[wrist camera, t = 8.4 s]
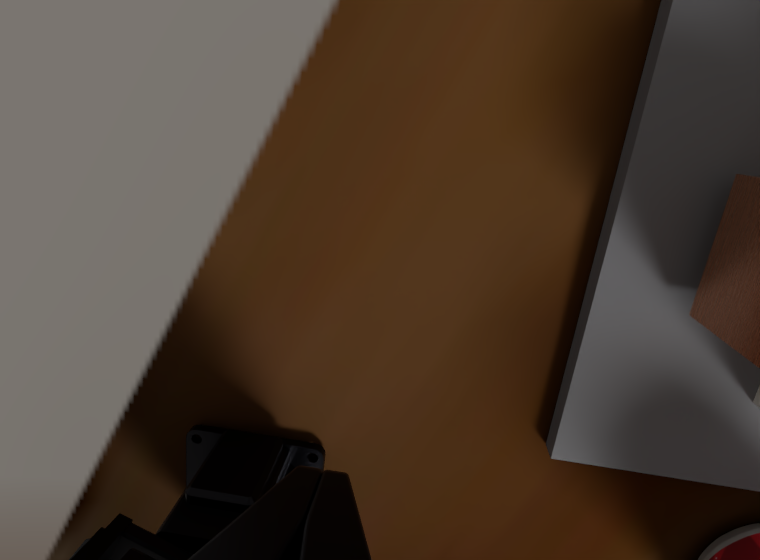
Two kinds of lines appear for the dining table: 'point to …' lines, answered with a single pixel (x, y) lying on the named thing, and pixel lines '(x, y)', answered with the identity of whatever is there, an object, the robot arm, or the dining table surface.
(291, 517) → the robot arm
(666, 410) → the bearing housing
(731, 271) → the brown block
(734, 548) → the soda can
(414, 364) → the dining table surface
